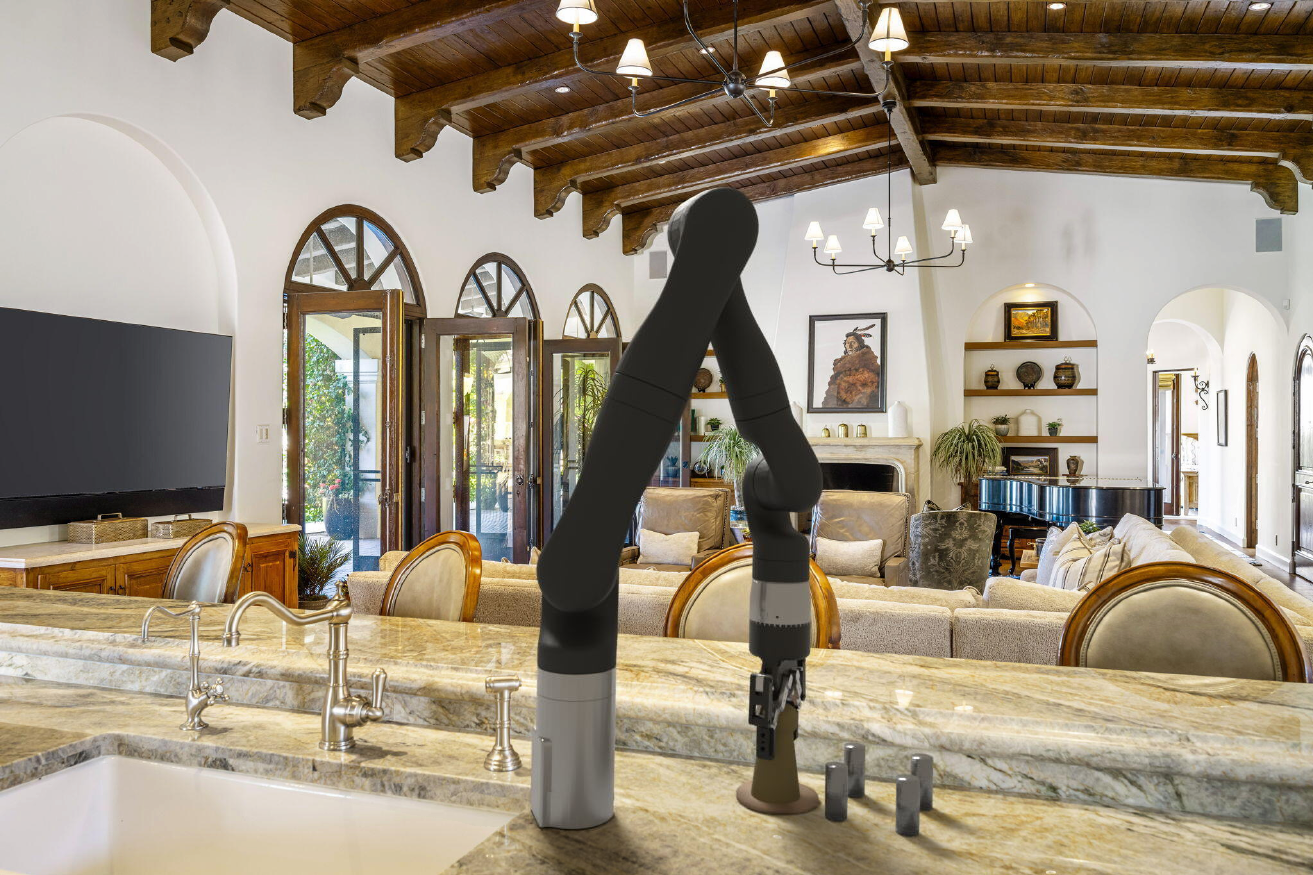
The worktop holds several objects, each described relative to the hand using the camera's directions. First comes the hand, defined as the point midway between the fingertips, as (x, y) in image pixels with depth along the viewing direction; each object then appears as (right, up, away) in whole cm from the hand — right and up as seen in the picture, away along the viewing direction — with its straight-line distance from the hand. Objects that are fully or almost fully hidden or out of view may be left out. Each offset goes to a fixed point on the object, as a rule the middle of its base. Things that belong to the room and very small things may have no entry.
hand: (777, 748), depth 111 cm
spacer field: (+12, -6, -4) cm, 14 cm away
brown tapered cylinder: (0, -6, 0) cm, 6 cm away
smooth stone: (0, -6, 0) cm, 6 cm away
